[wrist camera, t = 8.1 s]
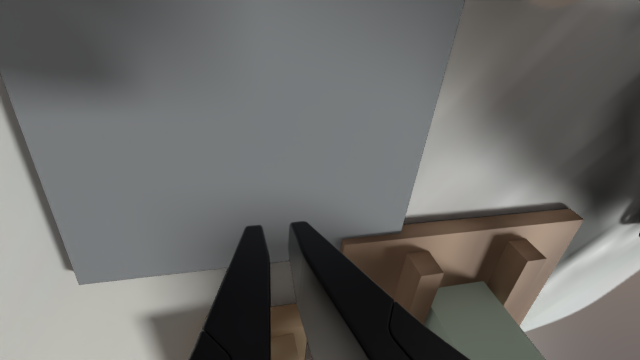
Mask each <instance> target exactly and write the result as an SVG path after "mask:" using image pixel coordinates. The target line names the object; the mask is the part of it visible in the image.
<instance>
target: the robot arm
mask: <svg viewBox="0 0 640 360" xmlns="http://www.w3.org/2000/svg"><path fill="white" fill-rule="evenodd" d="M639 237H640V233H639ZM288 254H289V260H290V266H291V272H292V278H293V284H294V290H295V296H296V302H297V307H298V311H299V315H300V318H301V322H302V325H303V328H304V332H305V335H306V338H307V342H308V345H309V348H310V352H311V355H312V358H313V360H470V359H469V358H467V357H466V356H465V355H463V354H462V353H460V352H459V351H458V350H456V349H455V348H454V347H452V346H451V345H450V344H448V343H447V342H445V341H444V340H443V339H442V338H440V337H439V336H438V335H436V334H435V333H434V332H432V331H431V330H430V329H428V328H427V327H426V326H425V325H423V324H422V323H421V322H420V321H419V320H417V319H416V318H415V317H414V316H413V315H412V314H410V313H409V312H408V311H407V310H406V309H405V308H403V307H402V306H401V305H400V304H399V303H398V302H397V301H395V302H394V299H393V298H392V297H391V296H390V295H389V294H388V293H386V292H385V291H384V290H383V289H382V288H381V287H380V286H379V285H377V284H376V283H375V282H374V281H373V280H372V279H371V278H370V277H368V276H367V275H366V274H365V273H364V272H363V271H362V270H361V269H359V268H358V267H357V266H356V265H355V264H354V263H353V262H351V261H350V260H349V259H348V258H347V257H346V256H345V255H344V254H342V253H341V252H340V251H339V250H338V249H337V248H336V247H335V246H333V245H332V244H331V243H330V242H329V241H328V240H327V239H326V238H324V237H323V236H322V235H321V234H320V233H319V232H318V231H317V230H315V229H314V228H313V227H312V226H311V225H310V224H309V223H308V222H306V221H298V222H291V223H290V226H289V240H288ZM189 360H271V293H270V256H269V251H268V247H267V243H266V239H265V235H264V231H263V227H262V226H261V225H251V226H246V227H245V229H244V231H243V233H242V236H241V238H240V241H239V243H238V245H237V248H236V250H235V252H234V255H233V257H232V260H231V262H230V264H229V267H228V269H227V271H226V274H225V276H224V279H223V281H222V283H221V286H220V288H219V290H218V293H217V295H216V297H215V300H214V302H213V305H212V307H211V309H210V312H209V314H208V316H207V319H206V321H205V324H204V326H203V328H202V331H201V333H200V335H199V337H198V340H197V342H196V344H195V347H194V349H193V351H192V353H191V355H190V358H189Z"/></svg>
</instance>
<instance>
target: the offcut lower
mask: <svg viewBox="0 0 640 360" xmlns="http://www.w3.org/2000/svg"><path fill="white" fill-rule="evenodd" d="M206 319H207V317H206ZM292 333H294V337H295V342H296V347H297V352H298V357H299V360H305V352H306V343H307V338H306V335H305V332H304V328H303V325H302V322H301V318H300V315H299V311H298V307H297V303H295V304H288V305H281V306H275V307H271V338H273V337H278V336H283V335H287V334H292Z"/></svg>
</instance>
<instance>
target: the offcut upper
mask: <svg viewBox="0 0 640 360" xmlns="http://www.w3.org/2000/svg"><path fill="white" fill-rule="evenodd" d="M271 360H299V357H298V352H297V347H296V342H295V337H294V333H292V334H287V335H283V336H278V337H273V338H271Z"/></svg>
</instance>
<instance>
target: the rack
mask: <svg viewBox="0 0 640 360" xmlns="http://www.w3.org/2000/svg"><path fill="white" fill-rule="evenodd" d="M583 221H584V219H583V218H581V217H580V216H579V215H578V214H576V213H575V212H574V211H572V210H571V209H561V210H550V211H540V212H530V213H519V214H509V215H498V216H488V217H478V218H467V219H457V220H447V221H436V222H426V223H415V224H405V225H403V226H402V230H401V233H399V234H389V235H379V236H370V237H360V238H350V239H342V242H341V248H340V252H341V253H342V254H344V255H345V256H346V257H347V258H348V259H349V260H350V261H351V262H353V263H354V264H355V265H356V266H357V267H358V268H359V269H361V270H362V271H363V272H364V273H365V274H366V275H367V276H368V277H370V278H371V279H372V280H373V281H374V282H375V283H376V284H377V285H379V286H380V287H381V288H382V289H383V290H384V291H385V292H386V293H388V294H389V295H390V296H391V297H392V298H393V299H394V302H395V301H397V302H398V303H399V304H400V305H401V306H402V307H403V308H405V309H406V310H407V311H408V312H409V313H410V314H412V315H413V316H414V317H415V318H416V319H417V320H419V321H420V322H421V323H422V324H423V325H424V323H425V321H426V318H427V316H428V313H429V311H430V308H431V305H432V303H433V300H434V298H435V295H436V293H437V290H438V288H440V287H447V286H454V285H460V284H467V283H474V282H480V281H484V282H485V284H486V285H487V286H488V287H489V289H490V290H491V291H492V293H493V294H494V295H495V296H496V298H497V299H498V300H499V301H500V303H501V304H502V305H503V306H504V308H505V309H506V310H507V311H508V313H509V314H510V315H511V316H512V318H513V319H514V320H515V322H516V323H517V324H518V325H519V326H520V324H521V322H522V321H523V319H524V317H525V316H526V314H527V312H528V311H529V309H530V308H531V306H532V304H533V303H534V301H535V299H536V298H537V296H538V294H539V293H540V291H541V289H542V288H543V286H544V285H545V283H546V281H547V280H548V278H549V276H550V275H551V273H552V271H553V270H554V268H555V266H556V265H557V263H558V262H559V260H560V258H561V257H562V255H563V253H564V252H565V250H566V248H567V247H568V245H569V244H570V242H571V240H572V239H573V237H574V235H575V234H576V232H577V230H578V229H579V227H580V225H581V224H582V222H583Z"/></svg>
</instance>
